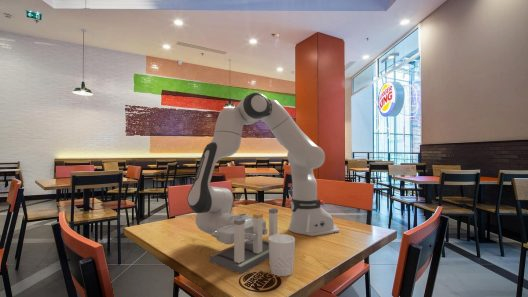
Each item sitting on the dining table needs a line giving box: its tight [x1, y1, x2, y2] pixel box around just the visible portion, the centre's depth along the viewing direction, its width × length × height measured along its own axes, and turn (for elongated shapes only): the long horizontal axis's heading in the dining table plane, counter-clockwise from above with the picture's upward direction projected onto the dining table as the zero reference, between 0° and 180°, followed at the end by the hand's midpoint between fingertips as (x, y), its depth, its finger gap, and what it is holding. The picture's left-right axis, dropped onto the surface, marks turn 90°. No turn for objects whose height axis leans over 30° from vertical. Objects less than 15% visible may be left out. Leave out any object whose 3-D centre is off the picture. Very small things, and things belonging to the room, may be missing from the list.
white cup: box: [268, 233, 296, 277], centre depth 78 cm, size 8×8×10 cm
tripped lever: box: [252, 212, 264, 254], centre depth 87 cm, size 2×3×13 cm
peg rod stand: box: [209, 207, 279, 275], centre depth 89 cm, size 14×22×15 cm, turn 143°
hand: (260, 234), depth 86 cm, fingers open, 5 cm apart
